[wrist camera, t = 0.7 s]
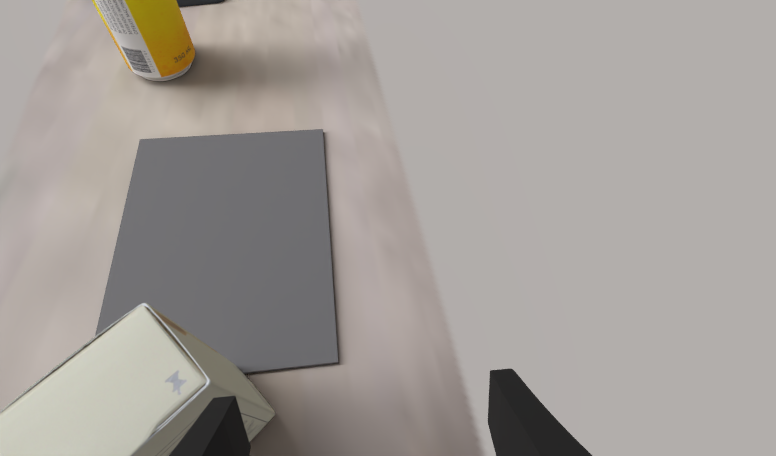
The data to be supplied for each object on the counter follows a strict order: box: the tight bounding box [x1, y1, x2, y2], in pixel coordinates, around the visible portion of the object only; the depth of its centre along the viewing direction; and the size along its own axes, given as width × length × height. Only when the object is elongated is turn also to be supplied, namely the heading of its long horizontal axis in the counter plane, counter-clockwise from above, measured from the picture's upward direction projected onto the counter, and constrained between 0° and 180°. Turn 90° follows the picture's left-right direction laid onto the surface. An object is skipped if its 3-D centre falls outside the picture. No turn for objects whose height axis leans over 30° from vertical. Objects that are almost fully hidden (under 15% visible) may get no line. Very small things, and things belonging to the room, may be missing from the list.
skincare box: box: [0, 303, 275, 456], centre depth 20 cm, size 6×4×12 cm
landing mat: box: [95, 129, 338, 374], centre depth 32 cm, size 20×15×1 cm
